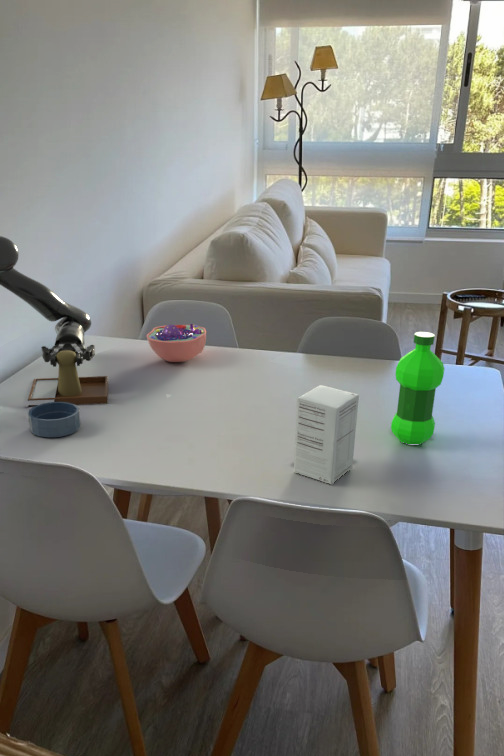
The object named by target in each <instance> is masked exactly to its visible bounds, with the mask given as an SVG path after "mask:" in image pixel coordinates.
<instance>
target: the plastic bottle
mask: <svg viewBox="0 0 504 756" xmlns="http://www.w3.org/2000/svg"><path fill="white" fill-rule="evenodd" d="M435 336H436V335H435V334H434V333H433V332H428V331H416V332H415V333H414V336H413V337H414V338H413V343H414V344H415V348H414V349H413V350H410V351H409V352H407V353H406V354H405V355H404V356H402V357H400V359H399V361H398V363H397V365H396V368H395V380H396V382H398V384H399V392H398V399H397V400H398V401H397V409H396V412H395V413H394V416H393V418H392V421H391V425H390V429H391V432H392V434H393V435H394V436H395V437H396V438H397V439H398V441H399V442H400V441H401V442H400V443H402V442H404V443H407V444H420V443H422V444H423V443H425V442H428V441H429V440H430V439H431V438H432V436H433V435H434V432H435V426H436V422H435V419H434V416H433V411H434V403H435V397H436V391H437V390H436V389H437V388H438V387H440V386H441V384H442V382H443V379H444V375H445V365H444V362H443V361H442V360H441V358H439V357H438V355H436V354H435V353H434V352H433V351H432V350H431V347H432V345H434V343H435ZM420 445H421V444H420Z"/></svg>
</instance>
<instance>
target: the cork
mask: <svg viewBox="0 0 504 756" xmlns="http://www.w3.org/2000/svg"><path fill="white" fill-rule="evenodd" d="M76 356H77V355H76V353H75V352H73V351H70V350H65V351H60V352H58V353H57V355H56V361H57V365H58V377H57V378H58V380H57V385H58V394H59V395H60V396H65V397H71V396H77V395H79V394H81V393H82V390H81V386H80V382H79V377H80V376H79V373H78V369H77V361H76Z"/></svg>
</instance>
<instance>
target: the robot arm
mask: <svg viewBox="0 0 504 756" xmlns="http://www.w3.org/2000/svg"><path fill="white" fill-rule="evenodd" d="M18 260H19V250H18V247H17V246H16V244H15V242H13V241H12V240H11V239H10V238H8V237H5V236H2V235H0V286H1V287H3V288H5V289H6V290H7V291H9V292H11V294H14V295H15V296H17V297H18V298H19V299H20V300H22V301H23V302H24V303H26V304H28V306H30V307H31V308H32V309H33V310H35V311H36V312H37V313H38V314H39V315H41V316H42V318H44V319H46V320H47V321H49V322H53V323H54V322H57V323H56V324H55V325H54V332H55V333H56V337H55V342H54V345H52V347H51V348H49V347H47V346H45V345H44V346H43V345H42V346H41V347H40V348H41V355H42V359H43V361H44V363H49V364H50V365H51V366H52V368H53V367H56V368H57V365H58V363H57V361H56V355H57V353H58V352H60V351H65V350H70V351H73V352H75V353H76V355H77V356H76V361H77V362H76V367H80V366H81V365H83V363H84V361H86V362H89V361H91V360H92V359H93V358H94V357H95V355H96V350H95V349H96V347H95V344H90V345H89V346H86V347H85V333H86V332H88V330H89V329H90V328H91V327H92V320H91V317H90V315H89V314H88V313H87V312H86V311H85V310H83V309H81V308H79V307H77V306H74V305H72V304H70V303H69V302H66V301H64V300H63V299H62V298H60V297H59V296H58V295H57V294H56V293H55V292H54V291H53V290H52V289H51V288H49V287H48V286H46V285H45V284H43V283H41V282H40V281H38V280H35V279H33V278H31V277H29V276H28V275H26V274H24V273H22V272H20V271H18V270H17V269H16V268H15V267H16V265H17V263H18Z"/></svg>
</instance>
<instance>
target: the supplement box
mask: <svg viewBox="0 0 504 756" xmlns="http://www.w3.org/2000/svg"><path fill="white" fill-rule="evenodd" d="M359 398H360V395H359V394H357V393H354V392H350V391H346V390H341V389H339V388H335V387H330V386H327V385H322V384H319V385H318V386H316V387H314V388H312V389H311V390H309V391H307V392H306V393H304V394H302V395H300V396H298V397H297V398H296V414H295V415H296V416H295V434H294V435H295V436H294V437H295V438H294V457H293V473H294V472H297V473H300V474H303V475H306V476H309V477H312V478H315V479H318V480H321V481H324V482H327V483H330V484H332V483H333V484H335V483H336V482H337V481H338V480H340V479H341V478H342V477H343V476H345V475H346V474H347V473H348V472H350V471H351V470H352V469H353V465H354V453H355V442H356V431H357V430H356V429H357V420H358V409H359ZM351 468H352V469H351ZM350 469H351V470H350ZM349 470H350V471H349ZM347 471H348V472H347ZM346 472H347V473H346ZM345 473H346V474H345ZM344 474H345V475H344ZM342 475H343V476H342ZM341 476H342V477H341ZM340 477H341V478H340ZM339 478H340V479H339ZM337 479H338V480H337ZM336 480H337V481H336ZM335 481H336V482H335ZM334 482H335V483H334ZM333 484H332V485H333Z"/></svg>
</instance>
